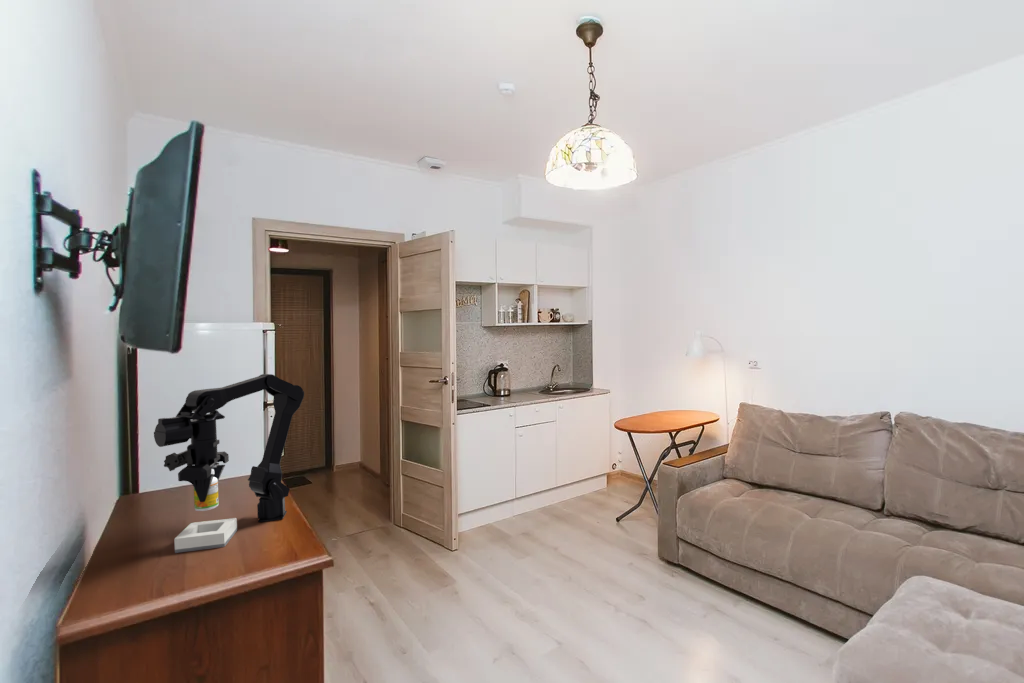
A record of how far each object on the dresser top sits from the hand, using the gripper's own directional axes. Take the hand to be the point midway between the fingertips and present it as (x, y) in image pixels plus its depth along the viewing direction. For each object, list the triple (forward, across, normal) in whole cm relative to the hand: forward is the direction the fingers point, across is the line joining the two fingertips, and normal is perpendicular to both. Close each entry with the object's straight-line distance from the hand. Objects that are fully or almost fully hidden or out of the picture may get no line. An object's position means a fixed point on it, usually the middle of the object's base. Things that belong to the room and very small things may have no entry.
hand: (206, 498), depth 127 cm
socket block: (+11, 0, 0) cm, 11 cm away
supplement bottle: (+3, 0, 0) cm, 3 cm away
